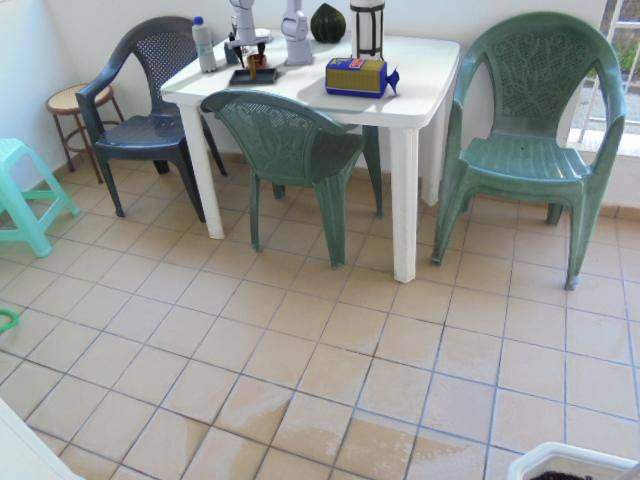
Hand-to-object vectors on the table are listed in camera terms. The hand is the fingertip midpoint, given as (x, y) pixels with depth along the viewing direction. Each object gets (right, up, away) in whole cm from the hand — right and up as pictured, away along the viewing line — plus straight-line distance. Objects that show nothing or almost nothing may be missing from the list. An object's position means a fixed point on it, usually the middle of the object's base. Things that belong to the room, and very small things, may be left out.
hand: (252, 65), depth 176 cm
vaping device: (-10, +9, +15) cm, 20 cm away
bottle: (-18, +3, +13) cm, 23 cm away
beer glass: (-6, +14, +26) cm, 30 cm away
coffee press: (+43, +5, +9) cm, 45 cm away
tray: (0, -4, +3) cm, 5 cm away
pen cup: (0, +4, +12) cm, 13 cm away
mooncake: (-3, +24, +37) cm, 44 cm away
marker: (0, -4, +3) cm, 5 cm away
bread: (+39, -13, -11) cm, 42 cm away
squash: (+28, +22, +31) cm, 47 cm away
